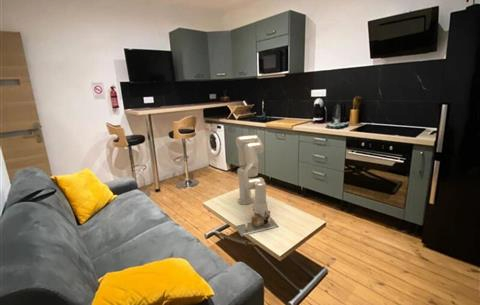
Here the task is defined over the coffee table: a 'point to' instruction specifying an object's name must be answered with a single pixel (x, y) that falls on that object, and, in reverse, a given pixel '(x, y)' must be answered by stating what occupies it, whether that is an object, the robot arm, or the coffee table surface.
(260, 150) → the robot arm
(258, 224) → the wooden block
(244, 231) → the board
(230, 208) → the coffee table surface
